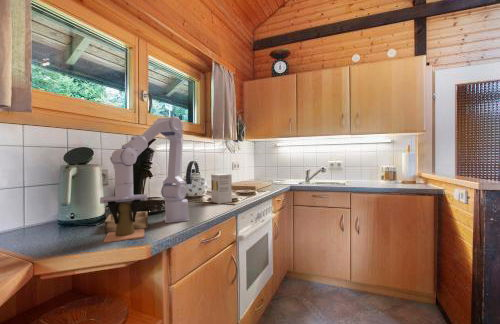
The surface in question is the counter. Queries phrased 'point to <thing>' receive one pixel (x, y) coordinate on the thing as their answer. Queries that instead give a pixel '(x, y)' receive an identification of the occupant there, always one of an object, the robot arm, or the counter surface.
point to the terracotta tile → (112, 237)
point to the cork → (124, 219)
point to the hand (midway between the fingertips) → (125, 222)
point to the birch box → (139, 223)
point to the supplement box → (221, 188)
